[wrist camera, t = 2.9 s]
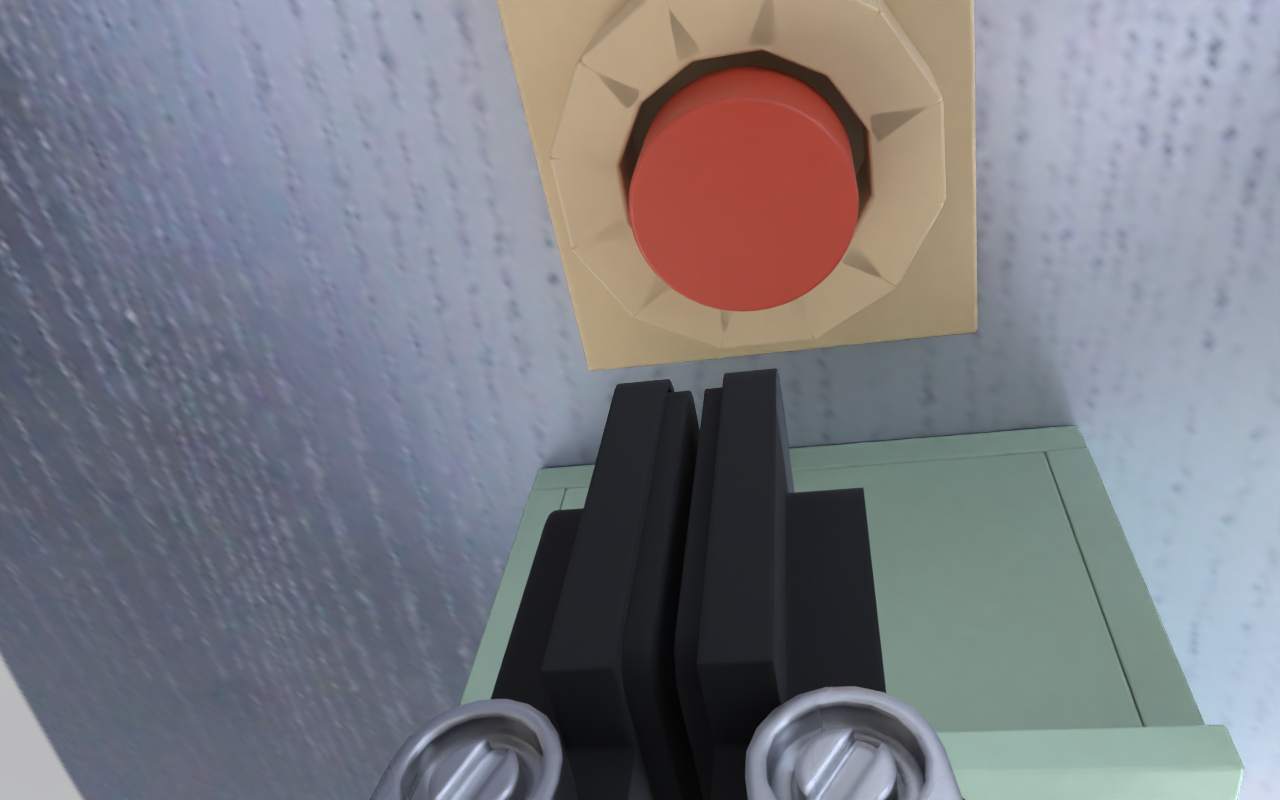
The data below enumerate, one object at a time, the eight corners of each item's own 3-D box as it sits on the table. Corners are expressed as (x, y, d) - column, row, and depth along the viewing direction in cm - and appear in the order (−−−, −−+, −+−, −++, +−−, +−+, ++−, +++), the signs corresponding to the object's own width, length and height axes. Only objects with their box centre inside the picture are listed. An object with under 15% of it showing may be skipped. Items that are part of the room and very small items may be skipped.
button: (622, 83, 17) (607, 116, 15) (843, 47, 16) (850, 79, 14) (660, 278, 19) (650, 324, 17) (860, 254, 18) (866, 300, 16)
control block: (497, -97, 18) (443, -64, 15) (956, -188, 17) (993, -172, 14) (600, 333, 23) (573, 420, 20) (965, 294, 21) (994, 382, 18)
